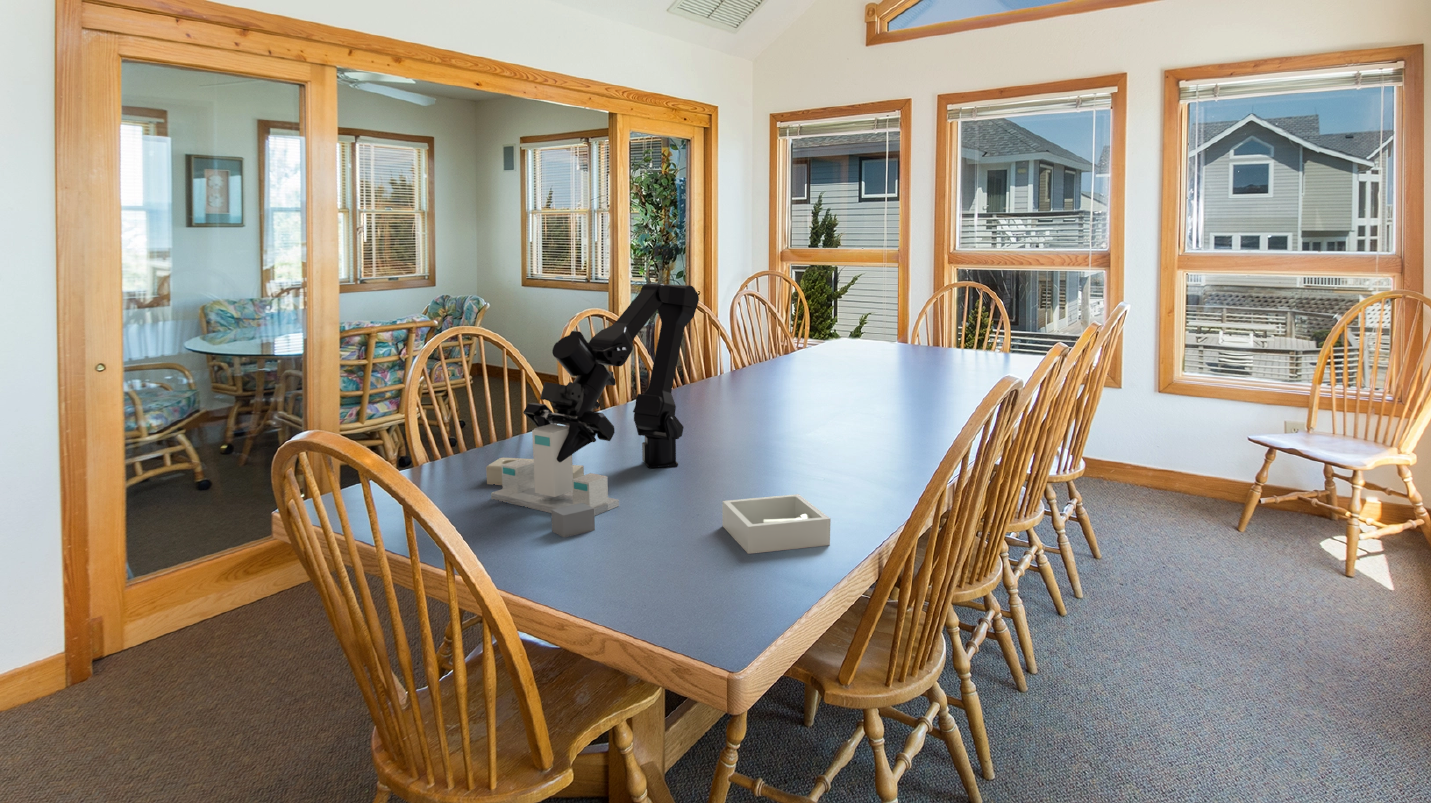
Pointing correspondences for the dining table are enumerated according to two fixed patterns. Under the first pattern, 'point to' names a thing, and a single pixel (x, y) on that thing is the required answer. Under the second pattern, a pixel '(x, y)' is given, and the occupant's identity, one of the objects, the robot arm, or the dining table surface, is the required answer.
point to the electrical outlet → (495, 468)
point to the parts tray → (775, 523)
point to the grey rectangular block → (573, 520)
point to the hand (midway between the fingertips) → (547, 458)
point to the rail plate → (522, 493)
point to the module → (551, 461)
